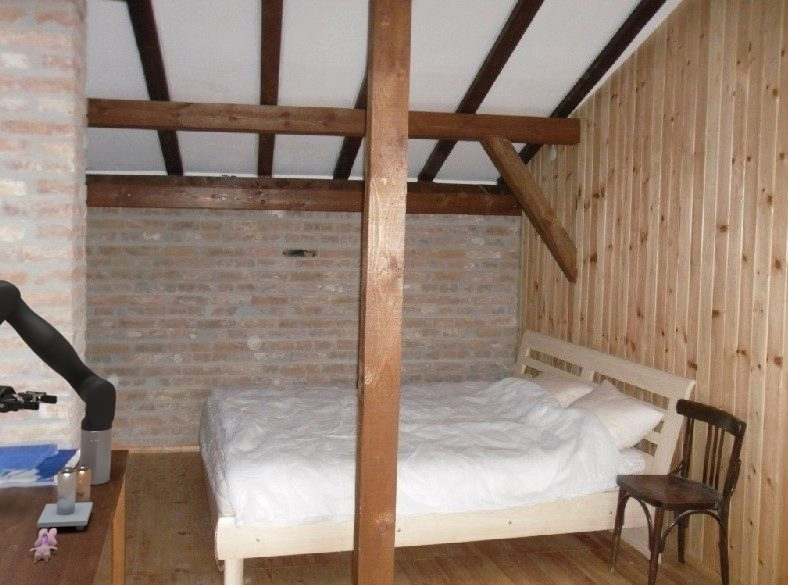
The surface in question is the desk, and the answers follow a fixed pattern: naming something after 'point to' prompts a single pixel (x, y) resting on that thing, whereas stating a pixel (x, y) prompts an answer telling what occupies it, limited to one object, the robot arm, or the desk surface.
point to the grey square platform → (65, 516)
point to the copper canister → (83, 484)
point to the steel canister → (66, 491)
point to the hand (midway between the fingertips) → (47, 403)
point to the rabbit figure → (44, 544)
